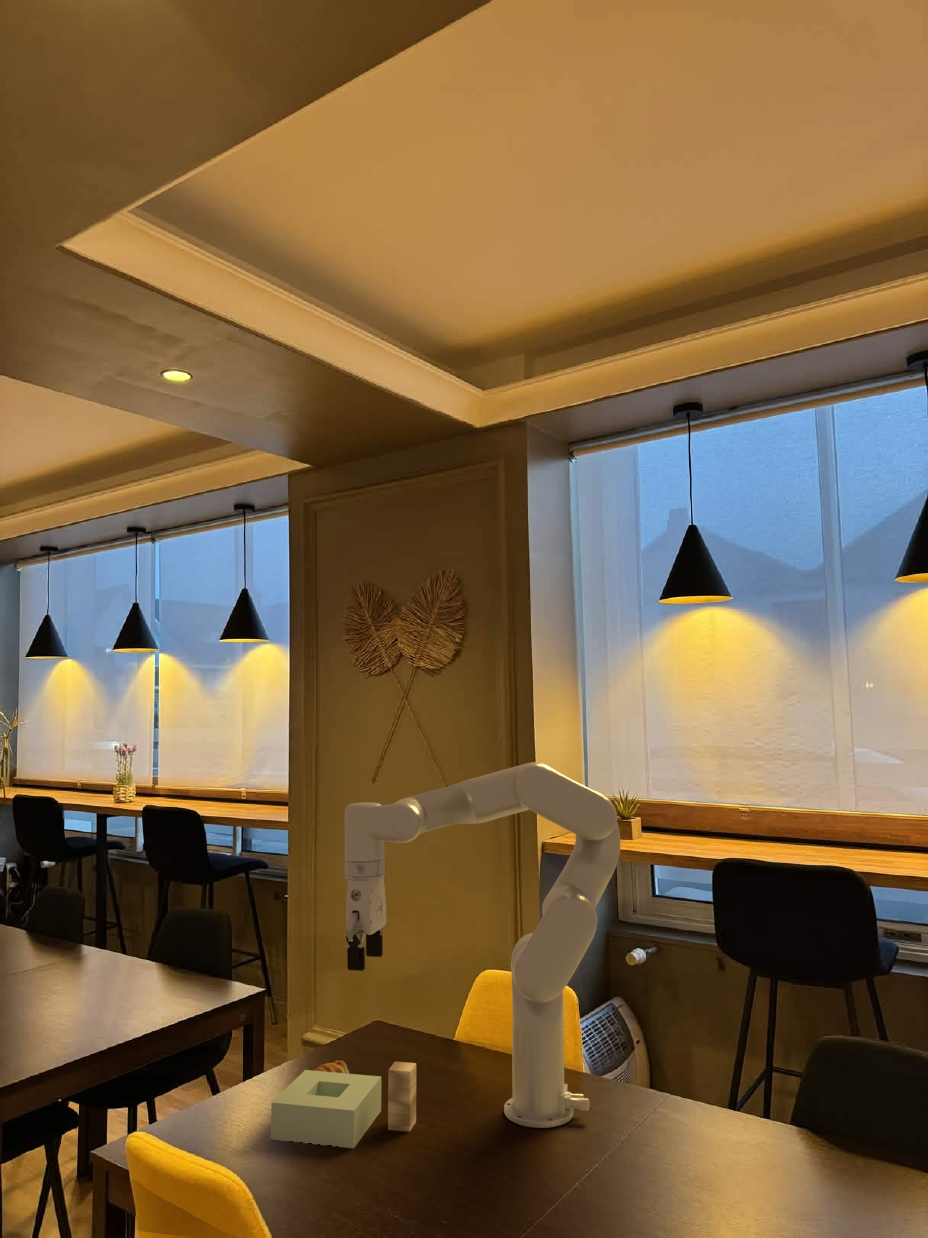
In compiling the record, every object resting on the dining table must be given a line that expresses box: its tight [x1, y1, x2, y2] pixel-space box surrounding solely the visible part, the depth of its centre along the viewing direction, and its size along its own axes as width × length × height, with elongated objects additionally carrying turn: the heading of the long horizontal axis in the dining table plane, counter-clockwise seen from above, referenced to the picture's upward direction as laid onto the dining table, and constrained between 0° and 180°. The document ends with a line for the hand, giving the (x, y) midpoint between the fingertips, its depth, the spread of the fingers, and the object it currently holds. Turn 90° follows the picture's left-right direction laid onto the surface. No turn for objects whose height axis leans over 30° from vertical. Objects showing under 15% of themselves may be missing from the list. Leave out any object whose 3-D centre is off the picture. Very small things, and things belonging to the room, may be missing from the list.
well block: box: [270, 1069, 382, 1149], centre depth 159 cm, size 15×15×6 cm
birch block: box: [387, 1061, 417, 1133], centre depth 159 cm, size 4×4×10 cm
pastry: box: [312, 1060, 350, 1074], centre depth 177 cm, size 9×7×4 cm
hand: (365, 963), depth 167 cm, fingers open, 9 cm apart
